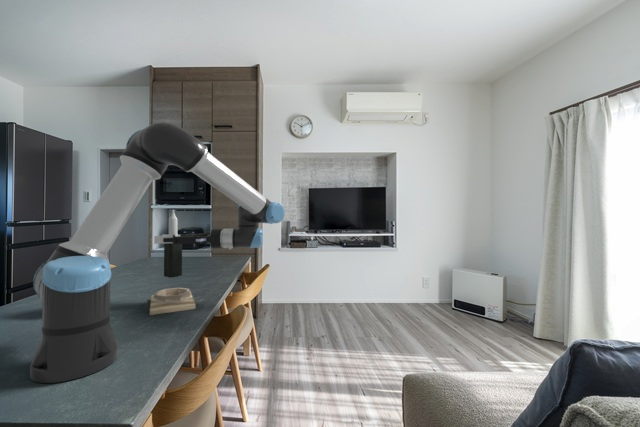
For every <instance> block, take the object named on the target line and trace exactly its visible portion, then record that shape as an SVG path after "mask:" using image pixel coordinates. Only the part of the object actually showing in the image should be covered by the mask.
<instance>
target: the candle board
mask: <svg viewBox="0 0 640 427" xmlns="http://www.w3.org/2000/svg"><path fill="white" fill-rule="evenodd" d="M195 302H196V301H195V300H194V297H193V294H192V291H191V290H190V288H185V287H172V288H164V289H161V290H157V291H154V292H153V295H151V296H150V305H149V306H150V307H149V316H155V315H160V314H167V313H175V312H182V311H183V312H184V311H190V310H196V303H195Z"/></svg>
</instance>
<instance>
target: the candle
mask: <svg viewBox="0 0 640 427" xmlns="http://www.w3.org/2000/svg"><path fill="white" fill-rule="evenodd" d="M178 220H179V219H178V218H177V216H176V213H175V210H174V209H172V210H171V215H170V217H169V218H168V235H169V236H173V235H174V234H175V236H178V235H179V234H178V230H179V229H178ZM163 276H164V277H167V278H177V277H181V276H183V244H173V243H167V244H163Z"/></svg>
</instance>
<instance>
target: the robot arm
mask: <svg viewBox="0 0 640 427" xmlns="http://www.w3.org/2000/svg"><path fill="white" fill-rule="evenodd" d="M119 160H120V162H121V166H119V169H118V171H117V172H116V173H115V175H114V176H113V177H112V179H111V181H109V183H108V185H106V186H107V187H105V189H104V190H103V192H102V194H101V195H100V197H99V198H98V200H97V201H96V202H95V204H94V206H93V207H92V208H91V210H90V211H89V213H88V214H87V216H86V217H85V219H84V220H83V222H82V223H81V225H80V226H79V227H78V229H77V230H76V232H75V233H74V234H73V236H72V238H71V239H70V240H69V241H66V242H63V243H62V242H61V243H59V244H58V246H57V247H56V249H55V250H54V251H53V252H52V254H51V255H50V257H49V258H48V260H46V261H45V262H43V263H42V264H41V265H40V266H39V267H38V268H37V270H36V271H35V273H34V276H33V282H32V284H33V289H34V291H35V293H36V295H37V296H38V298H40V301H41V302H42V305H41V306H42V307H41V308H42V309H41V310H42V313H41V315H42V316H41V324H42V325H41V327H42V328H41V338H40V341H39V343H38V345H37V348H36V350H35V353H34V354H33V355H34V356H33V358H32V360H31V363H30V366H29V379H30V380H31V381H33V382H35V383H41V384H51V383H52V384H55V383H61V382H66V381H67V382H68V381H72V380H76V379H77V380H78V379H79V378H83V377H87V376H89V375H91V374H96V373H98V372H99V371H102V370H103V369H106V368H107V367H109V366H110V365H112V364H113V363H114V362H115V361H116V360H117V358H118V357H119V350H120V349H119V348H120V346H119V343H118V340H117V338H116V336H115V333H114V330H113V328H112V326H111V277H112V270H111V264H110V260H109V257H108V252H109V251H110V249H111V247H112V246H113V244H115V241H116V240H117V238H118V236H119V235H120V233H121V232H122V230H123V229H124V227H125V225H126V223H127V222H128V221H129V219H130V217H131V216H132V213H133V212H134V211H135V209H136V208H137V206H138V205H139V203H140V201H141V200H142V198H143V196H144V194H146V191H147V190H148V189H149V186H150V185H151V184H152V182H153V181H156V180H157V181H158V180H161V178H162V176H163V175H164V173H165V172H166V170H167V168H168V166H169V165H172V166H176V167H178V168H180V169H181V170H183V171H184V172H186V173H190V172H191V173H192V174H194V175H196V176H197V177H199V178H200V179H201V180H203V181H204V182H206V183H207V184H209V185H210V186H212V188H215V189H216V190H217V191H218V192H220V193H221V194H222V195H225V196H226V197H227V198H228V199H230V200H231V201H233V202H234V203H235V204H236V205H238V206H237V228H223V229H222V228H212V229H211V230H210V233H207V232H203V233H196V234H194V233H191V234H188V233H185V234H178V236H175V234H174V235H173V236H169V234H161V235H154V236H153V238H154V240H153V241H154V244H157V245H158V244H160V245H162V244H163V245H164V244H167V243H173V244H182V245H184V244H185V245H187V244H188V245H189V244H192V245H193V244H194V245H206V244H208V243H209V244H210V245H209V246H210V248H212V249H221V248H223V249H228V250H232V249H257V248H261V247H262V246H263V244H264V242H263V241H264V230H263V229H262V228H259V224H270V225H272V224H279V223H282V221H283V219H284V218H285V214H286V213H285V212H286V211H285V209H284V208H285V207H284V206H283V204H281V203H280V202H276V201H270V199H268V198H266V196H264V195H263V194H262V193H260V192H259V191H258V190H257V189H255V188H254V187H253V186H251V185H250V184H249V183H248V182H246V181H245V180H244V179H243V178H242V177H240V176H239V175H238V174H236V173H235V172H234V171H233V170H232V169H230V168H229V167H227V166H226V165H225V164H224V163H223V162H222V161H220V160H219V159H217V158H216V157H215V156H214V155H213V154H211V153H210V152H209V151H208V146H207V145H206V144H204V143H203V142H202V141H200V140H199V139H198V138H196V137H195V136H194V135H192V134H191V133H190V132H188V131H187V130H185V129H184V128H182V127H180V126H178V125H176V124H174V123H170V122H166V121H158V122H153V123H151V124H150V125H147V126H146V127H144V128H143V129H140V130H137V131H135V132H134V133H133V134H131V136H130V137H129V138H128V139H127V142H126V146H125V148H124V150H123V152H122V153H121V155H120V156H119Z"/></svg>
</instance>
